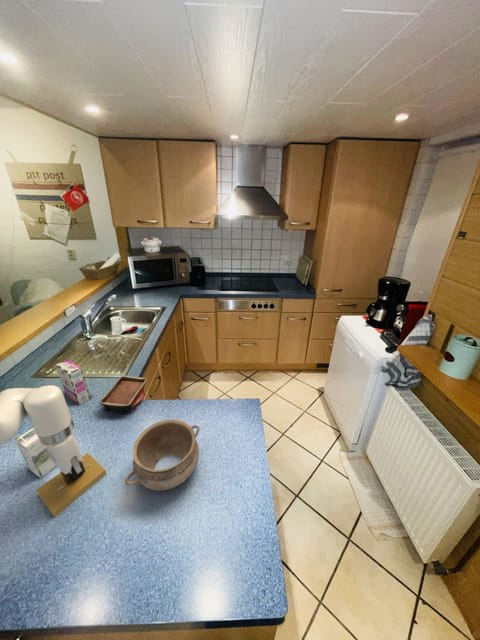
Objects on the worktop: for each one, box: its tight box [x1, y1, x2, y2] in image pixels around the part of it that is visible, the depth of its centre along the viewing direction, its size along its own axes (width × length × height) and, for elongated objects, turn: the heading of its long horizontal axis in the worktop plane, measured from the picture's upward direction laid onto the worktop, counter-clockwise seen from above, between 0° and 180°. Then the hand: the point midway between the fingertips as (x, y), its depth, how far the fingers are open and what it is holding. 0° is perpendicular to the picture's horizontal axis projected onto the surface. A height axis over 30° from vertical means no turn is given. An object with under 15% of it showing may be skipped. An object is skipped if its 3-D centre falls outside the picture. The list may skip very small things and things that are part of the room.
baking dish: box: [99, 375, 147, 414], centre depth 102 cm, size 14×18×10 cm
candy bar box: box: [55, 359, 91, 405], centre depth 103 cm, size 11×5×16 cm, turn 56°
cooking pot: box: [124, 419, 201, 492], centre depth 75 cm, size 25×19×12 cm
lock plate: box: [36, 452, 107, 518], centre depth 73 cm, size 14×10×3 cm
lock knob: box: [60, 462, 85, 485], centre depth 72 cm, size 5×2×5 cm, turn 146°
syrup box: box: [14, 427, 57, 478], centre depth 75 cm, size 6×6×14 cm
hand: (75, 475), depth 72 cm, fingers closed on lock knob
